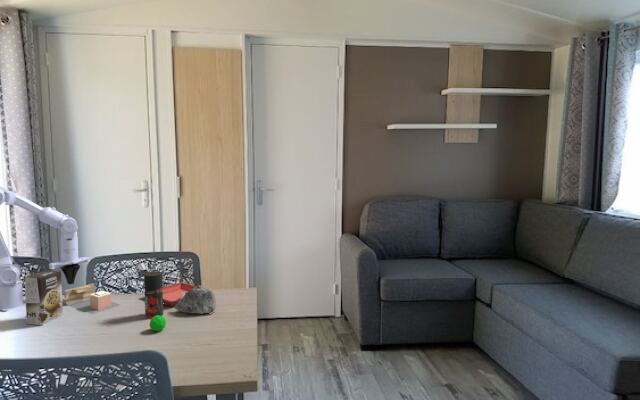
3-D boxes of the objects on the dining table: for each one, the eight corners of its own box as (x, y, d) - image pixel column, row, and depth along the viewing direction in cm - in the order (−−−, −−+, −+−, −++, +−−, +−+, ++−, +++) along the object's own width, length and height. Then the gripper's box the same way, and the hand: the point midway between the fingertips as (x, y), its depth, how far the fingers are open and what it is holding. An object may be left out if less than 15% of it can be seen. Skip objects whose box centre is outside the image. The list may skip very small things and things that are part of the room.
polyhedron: (150, 334, 138) (150, 319, 138) (148, 328, 142) (148, 314, 142) (167, 331, 140) (167, 317, 140) (164, 326, 145) (164, 312, 144)
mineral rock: (173, 312, 157) (172, 285, 156) (195, 304, 166) (195, 278, 165) (198, 320, 151) (198, 291, 150) (220, 311, 160) (220, 284, 159)
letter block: (97, 296, 157) (98, 310, 157) (110, 293, 161) (111, 306, 161) (89, 294, 159) (90, 307, 160) (102, 290, 163) (103, 303, 164)
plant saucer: (181, 289, 186) (181, 281, 185) (210, 297, 175) (210, 289, 175) (143, 300, 171) (142, 292, 171) (171, 310, 160) (171, 301, 160)
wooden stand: (62, 303, 164) (62, 289, 163) (91, 295, 173) (90, 282, 172) (71, 306, 161) (71, 292, 160) (100, 298, 170) (99, 285, 169)
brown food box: (42, 326, 143) (40, 278, 142) (26, 324, 145) (23, 276, 143) (64, 316, 152) (61, 270, 151) (48, 314, 154) (45, 269, 152)
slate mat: (54, 301, 167) (54, 300, 167) (82, 293, 176) (82, 292, 176) (92, 314, 154) (92, 313, 154) (121, 305, 163) (121, 304, 163)
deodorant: (166, 313, 156) (165, 272, 155) (155, 319, 151) (154, 276, 149) (153, 311, 158) (152, 270, 157) (141, 316, 153) (140, 274, 151)
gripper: (55, 253, 160) (57, 290, 161) (93, 247, 172) (94, 280, 174) (45, 251, 164) (46, 286, 165) (83, 245, 176) (84, 278, 177)
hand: (70, 283), depth 170 cm, fingers closed
